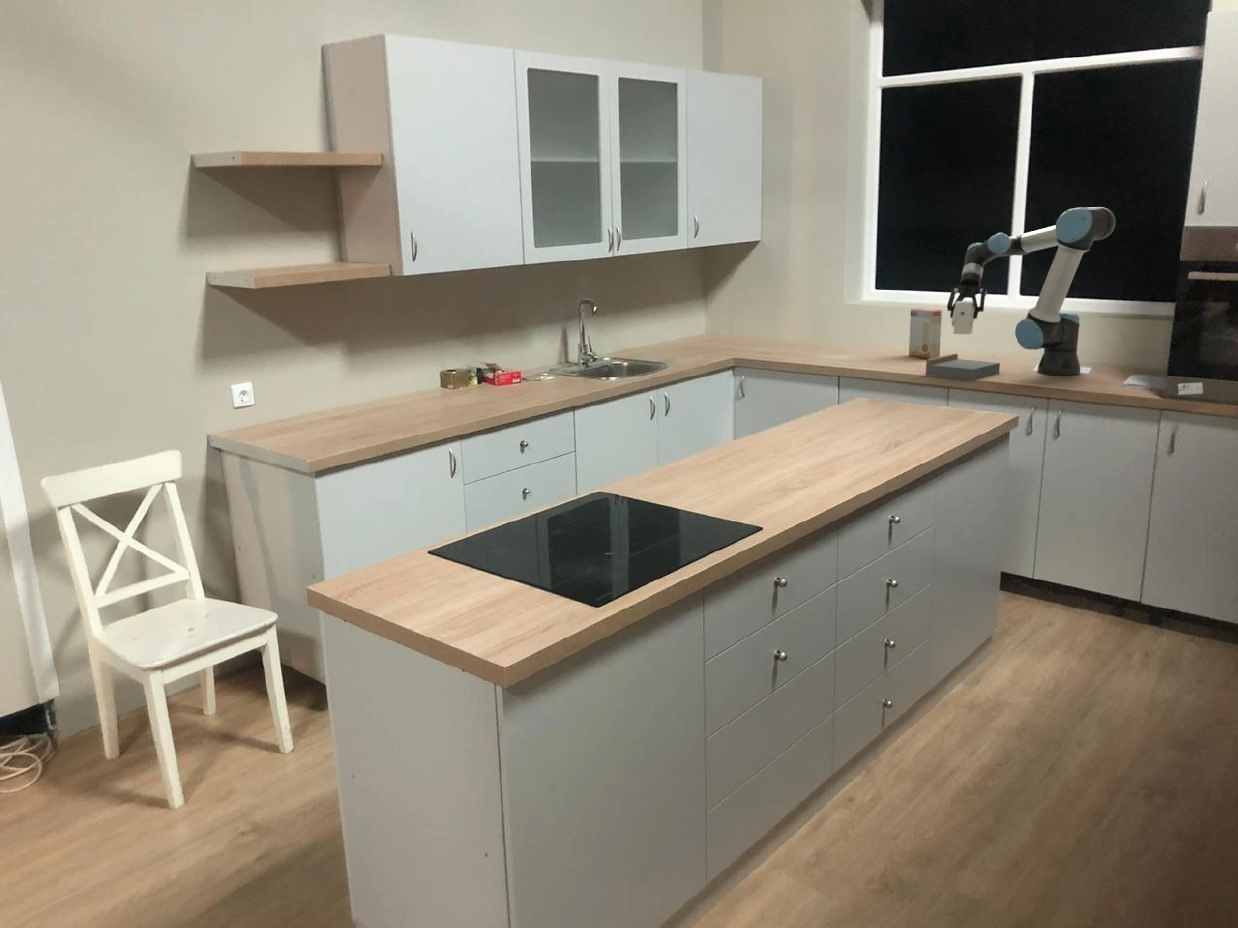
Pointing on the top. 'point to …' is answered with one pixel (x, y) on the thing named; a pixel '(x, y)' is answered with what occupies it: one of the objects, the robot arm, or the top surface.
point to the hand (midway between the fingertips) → (961, 324)
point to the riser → (960, 367)
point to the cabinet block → (963, 317)
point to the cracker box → (925, 333)
